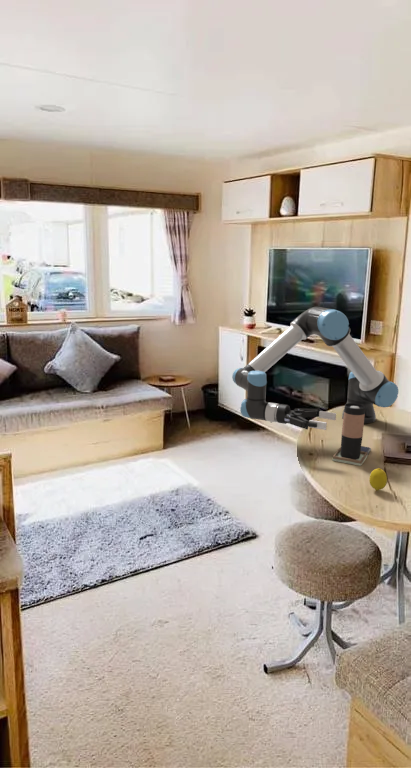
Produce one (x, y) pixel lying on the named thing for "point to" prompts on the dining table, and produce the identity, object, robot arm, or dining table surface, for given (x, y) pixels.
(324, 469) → the dining table surface
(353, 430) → the travel mug
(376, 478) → the lemon
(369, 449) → the ink pad
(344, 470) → the dining table surface
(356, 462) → the box
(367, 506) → the dining table surface
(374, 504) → the dining table surface
